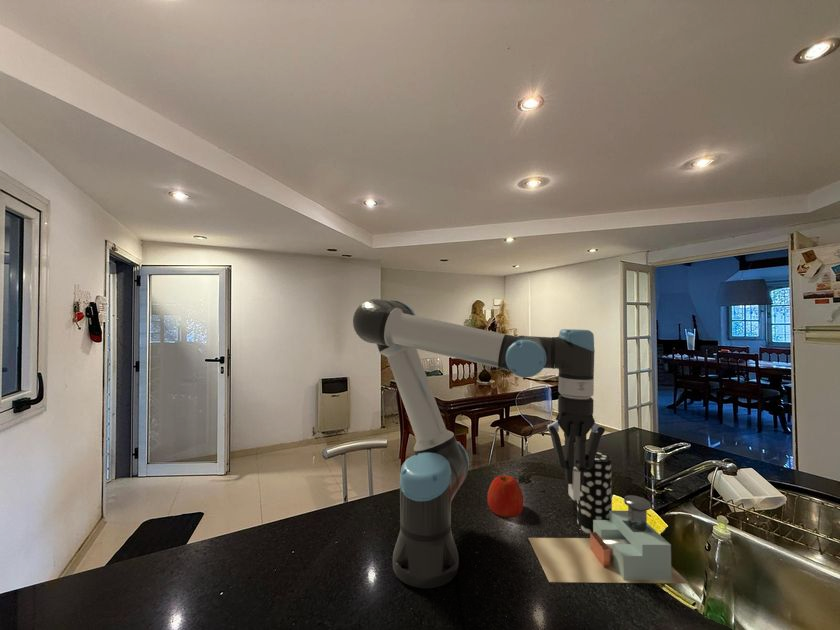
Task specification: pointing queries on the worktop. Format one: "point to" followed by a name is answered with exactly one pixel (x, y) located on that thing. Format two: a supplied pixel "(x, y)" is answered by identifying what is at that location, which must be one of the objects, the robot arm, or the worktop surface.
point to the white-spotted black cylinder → (595, 493)
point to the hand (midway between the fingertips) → (574, 497)
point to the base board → (580, 563)
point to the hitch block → (636, 549)
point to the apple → (505, 497)
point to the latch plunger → (637, 512)
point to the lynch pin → (604, 548)
